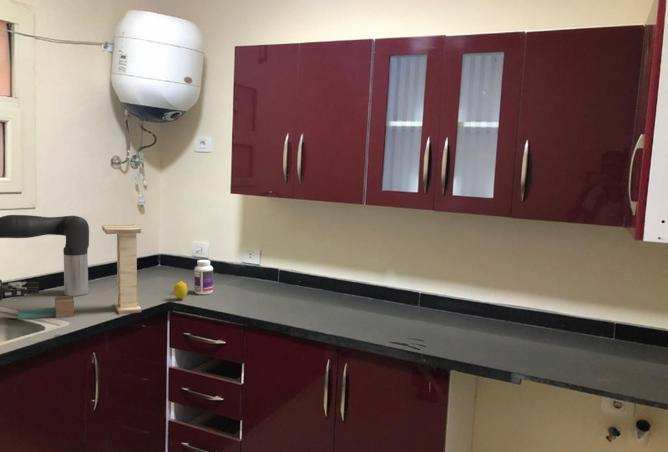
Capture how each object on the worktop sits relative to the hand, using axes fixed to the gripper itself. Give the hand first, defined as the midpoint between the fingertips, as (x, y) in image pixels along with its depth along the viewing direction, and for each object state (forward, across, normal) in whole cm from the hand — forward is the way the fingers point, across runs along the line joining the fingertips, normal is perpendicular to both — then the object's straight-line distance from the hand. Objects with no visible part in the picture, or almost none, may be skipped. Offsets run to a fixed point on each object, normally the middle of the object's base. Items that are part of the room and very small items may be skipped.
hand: (38, 287), depth 200 cm
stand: (+28, 0, -11) cm, 30 cm away
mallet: (+2, 0, -11) cm, 11 cm away
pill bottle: (+64, -15, -11) cm, 67 cm away
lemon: (+52, -6, -11) cm, 54 cm away
